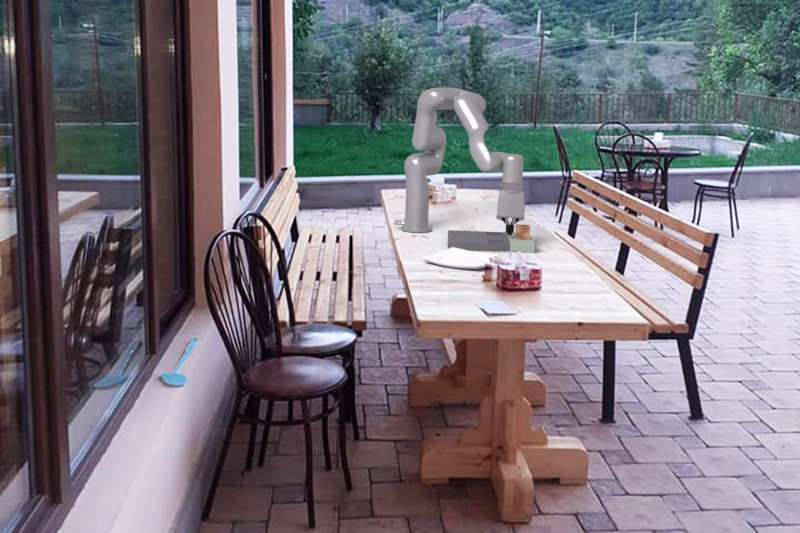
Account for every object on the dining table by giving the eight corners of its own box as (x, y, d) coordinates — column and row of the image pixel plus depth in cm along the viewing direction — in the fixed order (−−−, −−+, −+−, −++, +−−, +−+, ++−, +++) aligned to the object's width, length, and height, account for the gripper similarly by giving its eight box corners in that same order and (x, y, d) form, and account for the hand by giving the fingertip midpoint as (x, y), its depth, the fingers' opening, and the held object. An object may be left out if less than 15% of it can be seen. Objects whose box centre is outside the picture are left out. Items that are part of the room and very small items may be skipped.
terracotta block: (516, 239, 344) (516, 226, 343) (515, 237, 349) (516, 224, 348) (529, 240, 343) (530, 227, 342) (528, 237, 348) (529, 224, 347)
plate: (416, 264, 312) (416, 257, 312) (451, 253, 333) (451, 246, 332) (480, 274, 300) (480, 267, 299) (511, 262, 320) (512, 255, 319)
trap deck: (447, 249, 337) (448, 241, 336) (447, 237, 360) (448, 230, 359) (534, 252, 335) (534, 244, 335) (528, 240, 359) (529, 233, 358)
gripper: (492, 187, 339) (490, 236, 343) (532, 189, 338) (530, 237, 342) (491, 185, 346) (489, 232, 350) (531, 186, 346) (528, 233, 350)
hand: (509, 234), depth 346 cm, fingers closed
